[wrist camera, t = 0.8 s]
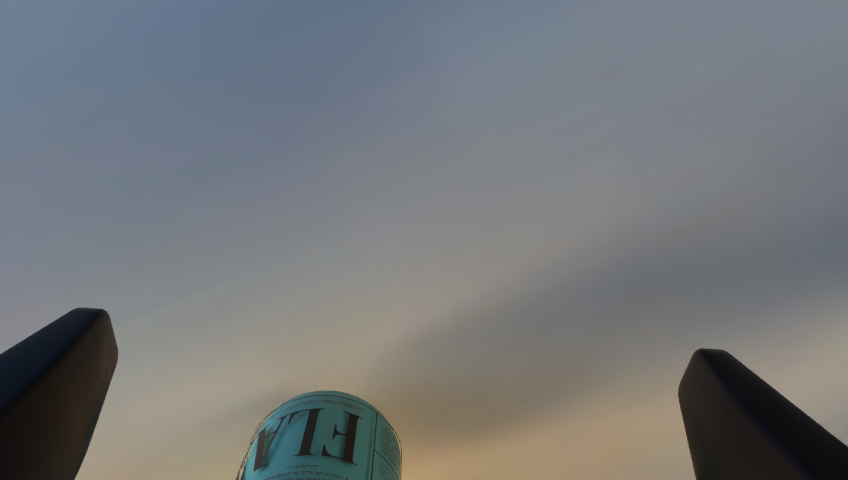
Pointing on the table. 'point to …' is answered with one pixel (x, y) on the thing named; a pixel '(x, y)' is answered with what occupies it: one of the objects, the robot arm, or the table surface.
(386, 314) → the table surface
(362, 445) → the beverage bottle
